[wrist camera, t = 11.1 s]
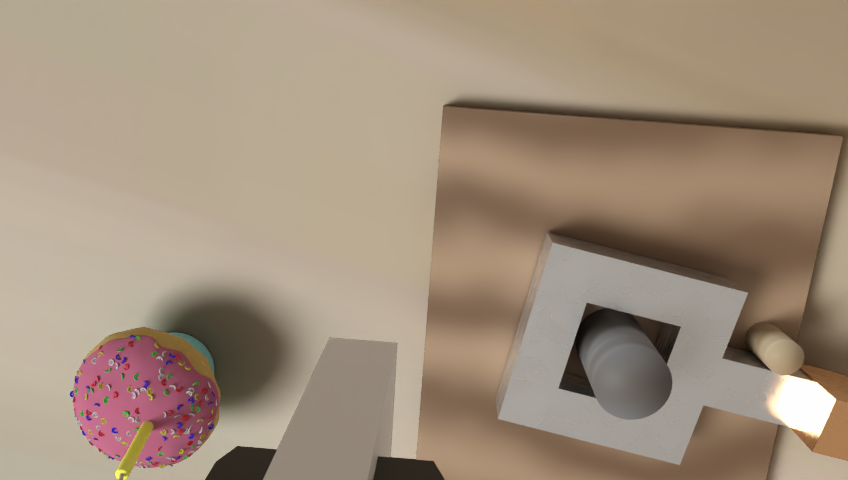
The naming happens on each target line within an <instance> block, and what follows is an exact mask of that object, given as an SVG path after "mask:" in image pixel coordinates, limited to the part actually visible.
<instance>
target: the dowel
mask: <svg viewBox="0 0 848 480" xmlns="http://www.w3.org/2000/svg"><path fill="white" fill-rule="evenodd" d="M745 343H746V345H747V347H748V348H749V349H750V350H751V351H752V352H753V353H754V354H755V355H756V356H757V357H758V358H759V359H760V360H761V361H762V362H763V363H764V364H765V365H766V366H767V367H768V368H769V369H770V370H771V371H772V372H774V373H776V374H778V375H789V374H792V373H794V372H796V371H797V370H798V369H800V367H801V366H802V364H803V362H804V351H803V349H802V348H801V347H800V346H799V345H798V344H797V343H795V342H794V341H793V340H792V339H791V338H789V337H788V336H787V335H786V334H785V333H783V332H782V331H781V330H780V329H779V328H777V327H776V326H775V325H774V324H772V323H769V322H758V323H756V324H754V325H752V326H751V327H750V328H749V329H748V331H747V332H746V335H745Z"/></svg>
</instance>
